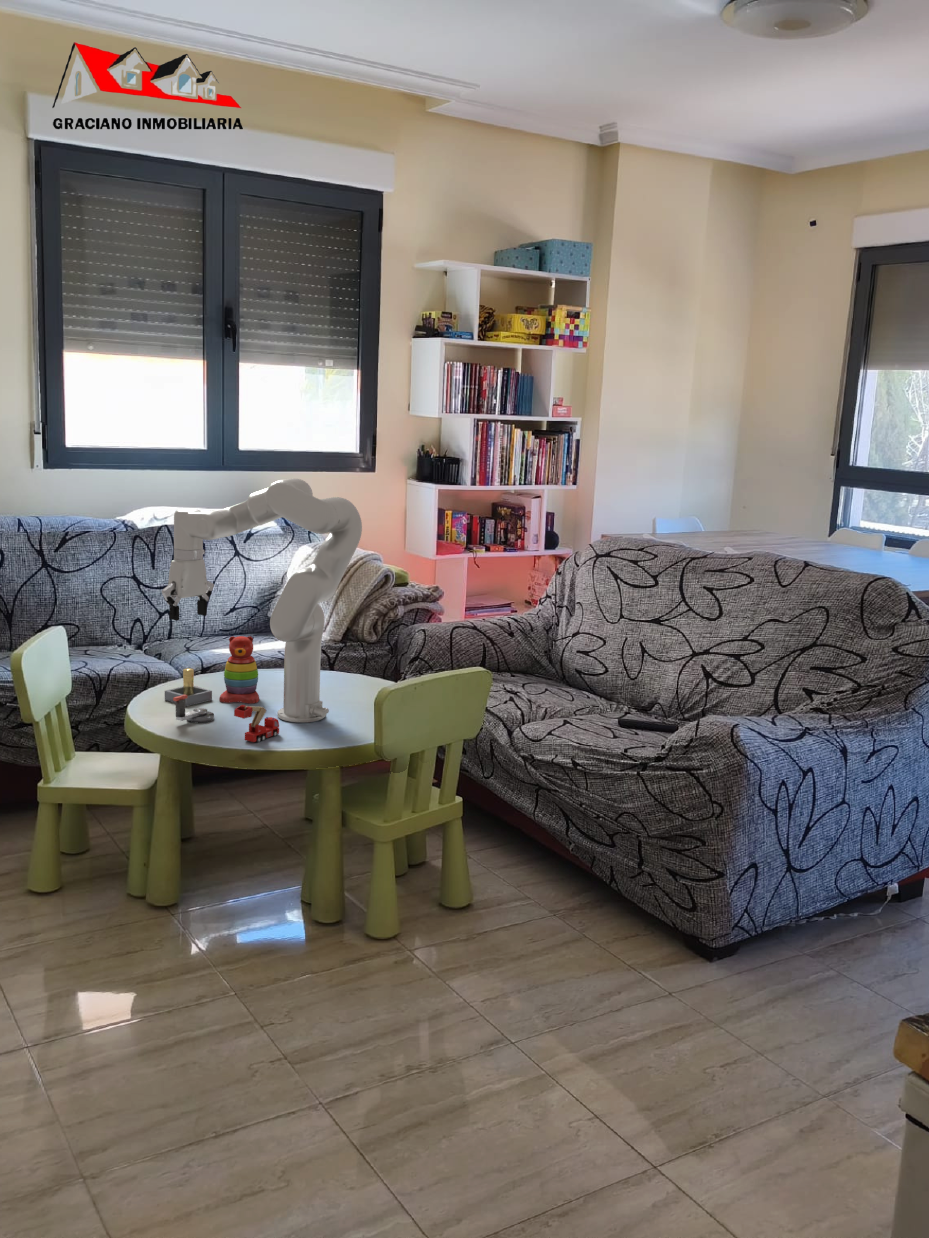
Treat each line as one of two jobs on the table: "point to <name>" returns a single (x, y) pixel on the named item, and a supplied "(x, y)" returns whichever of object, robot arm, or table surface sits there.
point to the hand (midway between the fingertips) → (188, 617)
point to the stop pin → (188, 681)
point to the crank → (181, 709)
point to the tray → (196, 698)
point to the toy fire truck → (257, 723)
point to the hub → (202, 718)
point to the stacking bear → (240, 672)
